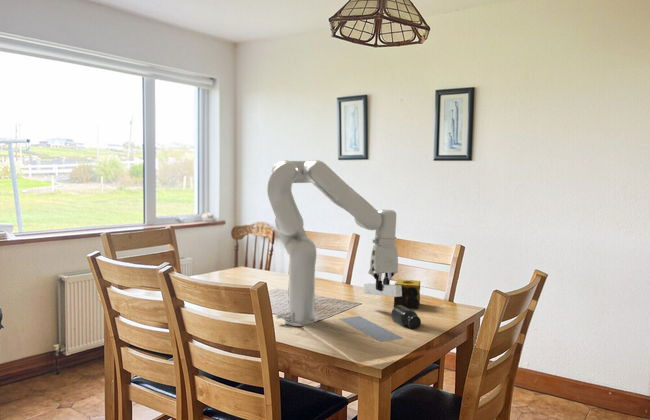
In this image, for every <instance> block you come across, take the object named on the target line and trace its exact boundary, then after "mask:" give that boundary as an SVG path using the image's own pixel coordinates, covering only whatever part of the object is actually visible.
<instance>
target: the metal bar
mask: <svg viewBox="0 0 650 420" xmlns="http://www.w3.org/2000/svg"><path fill="white" fill-rule="evenodd" d="M363 290H364V291H363V293H364V295H372V296H384V297H393V298H394V297H400V296H402V287H401V285H395V284H389V285H388V284H383V283H382V291H378V290H376V283H363Z"/></svg>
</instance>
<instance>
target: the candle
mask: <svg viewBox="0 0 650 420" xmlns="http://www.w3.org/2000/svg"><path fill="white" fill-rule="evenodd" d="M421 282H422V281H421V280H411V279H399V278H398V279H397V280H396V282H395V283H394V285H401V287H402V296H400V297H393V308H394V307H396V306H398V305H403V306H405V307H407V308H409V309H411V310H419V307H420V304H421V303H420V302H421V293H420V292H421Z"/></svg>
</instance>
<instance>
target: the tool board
mask: <svg viewBox="0 0 650 420" xmlns="http://www.w3.org/2000/svg"><path fill="white" fill-rule="evenodd" d="M339 321H342V322H344V323H346V324H347V325H349V326H351V327H353V328H355V329H356V330H358V331H360V332H361V333H364V334H366V335H367V336H369V337H371V338H373V339H374V340H377V341H378V342H380V343H382V342H387V341H394V340H400V339H404V337H402V336H401V335H398V334H396V333H395V332H393V331H391V330H389V329H387V328H384V327H383V326H380V325H379V324H376V323H375V322H372V321H370V320H369V319H366V318H365V317H362V316H358V315H357V316H351V317H342V318H339Z"/></svg>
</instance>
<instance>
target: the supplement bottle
mask: <svg viewBox="0 0 650 420" xmlns="http://www.w3.org/2000/svg"><path fill="white" fill-rule="evenodd" d="M390 317H391V319H392V321H393V322H395V323H397V324H398V325H399V326H401V327H403V328H409V329H411V330H416V329H417V330H418V329H419V328H420V326H421V324H422V320H421V318H420V317H419V315H418V314H417V312H416V311H414V310H413V309H409V308H407V307H405V306H403V305H398V306H396V307H394V306H393V308H392V310H391V313H390Z"/></svg>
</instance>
